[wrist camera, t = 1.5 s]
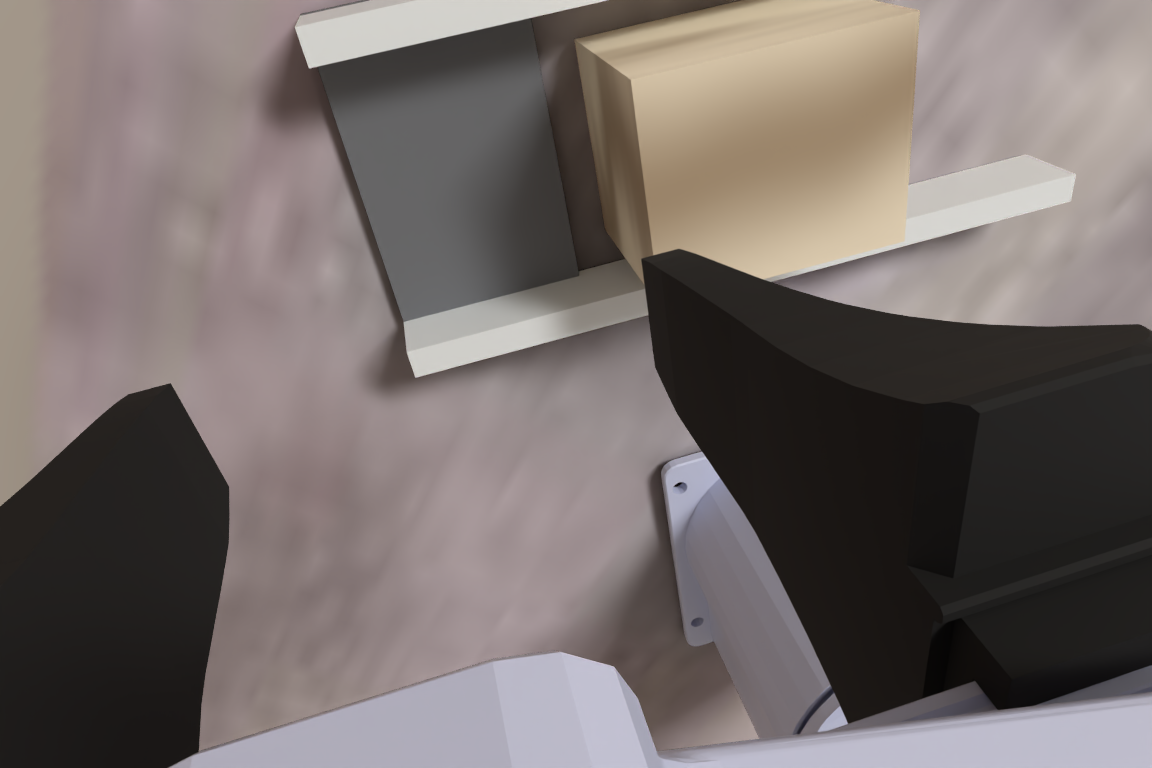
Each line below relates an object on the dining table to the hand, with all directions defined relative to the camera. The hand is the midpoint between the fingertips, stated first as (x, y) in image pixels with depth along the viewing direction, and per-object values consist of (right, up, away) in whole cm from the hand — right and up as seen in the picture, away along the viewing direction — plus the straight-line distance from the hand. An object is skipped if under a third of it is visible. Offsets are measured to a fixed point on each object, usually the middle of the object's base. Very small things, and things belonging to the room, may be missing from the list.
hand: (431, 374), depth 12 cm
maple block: (+5, +7, +9) cm, 12 cm away
